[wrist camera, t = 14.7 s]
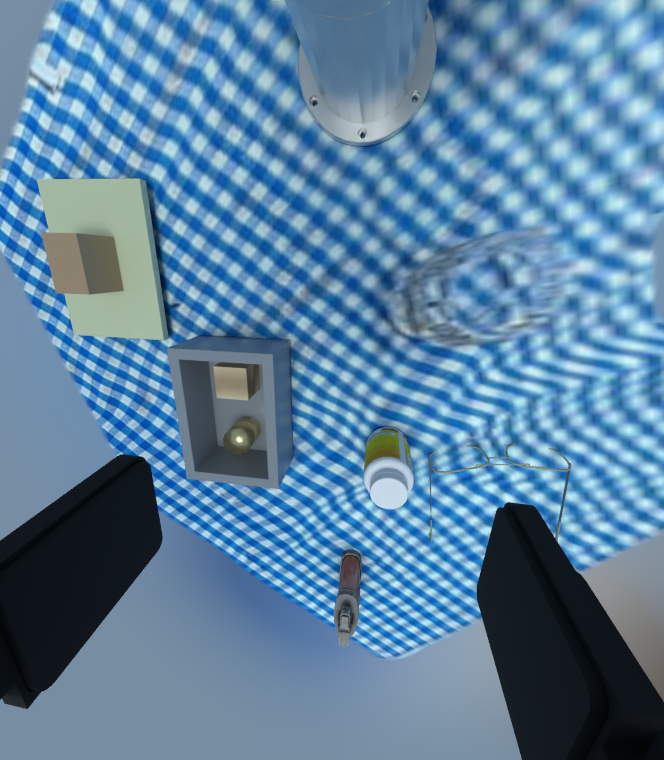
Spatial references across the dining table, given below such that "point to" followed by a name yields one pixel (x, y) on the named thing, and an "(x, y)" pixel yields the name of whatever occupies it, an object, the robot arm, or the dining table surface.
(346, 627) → the lighter
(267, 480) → the tub
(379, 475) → the supplement bottle
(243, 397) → the pine block
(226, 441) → the brass slug
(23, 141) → the dining table surface
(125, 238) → the lid
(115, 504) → the robot arm
